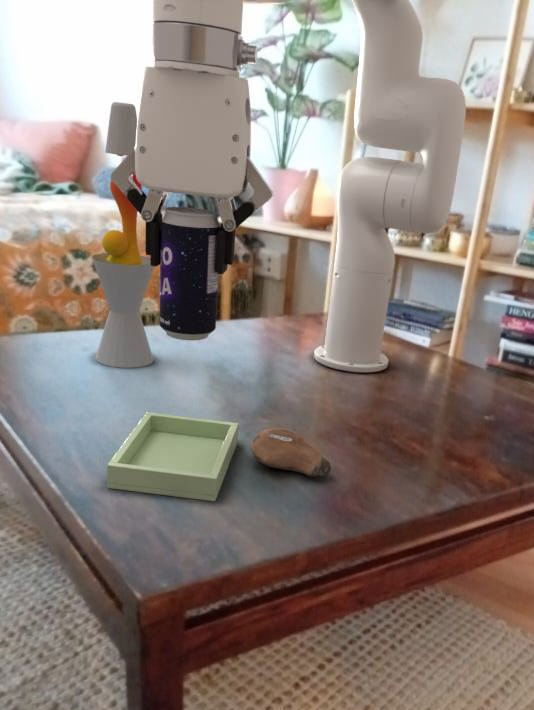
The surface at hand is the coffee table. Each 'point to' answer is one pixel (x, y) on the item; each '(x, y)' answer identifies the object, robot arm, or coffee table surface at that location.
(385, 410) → the coffee table surface
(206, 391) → the coffee table surface
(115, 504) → the coffee table surface
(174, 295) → the beverage can
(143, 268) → the lava lamp
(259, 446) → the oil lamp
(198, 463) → the tray
